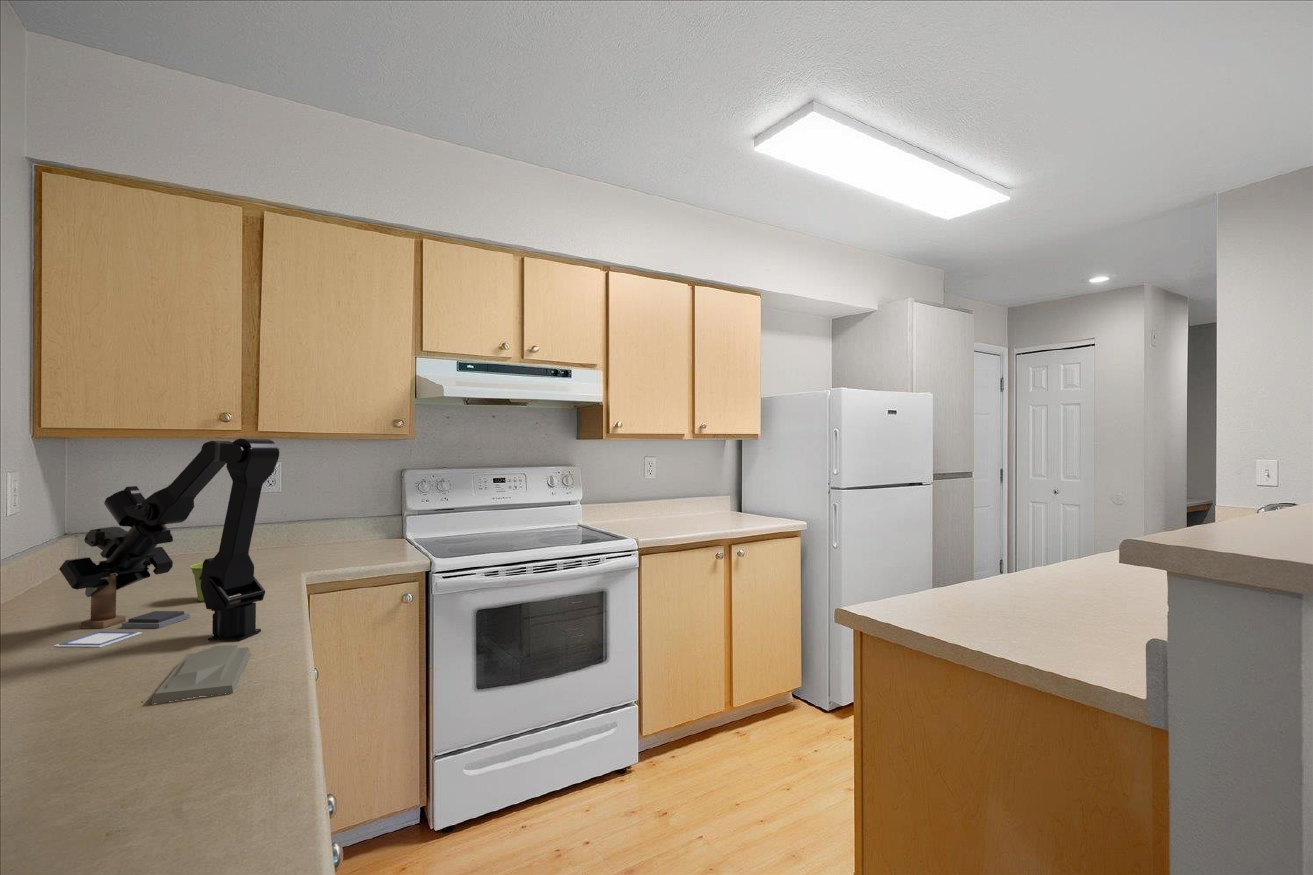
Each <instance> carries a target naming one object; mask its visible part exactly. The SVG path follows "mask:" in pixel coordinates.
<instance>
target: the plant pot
mask: <svg viewBox="0 0 1313 875" xmlns="http://www.w3.org/2000/svg"><path fill="white" fill-rule="evenodd" d="M202 566H203V562H199V563H195V564H192V565H190V566H189V569H191V572H192V574H193V577H194V582H195V588H196V593H197V600H198V601H199V602H204V598H203V594H202V591H201V580H199V578H200V576H201V573H202Z"/></svg>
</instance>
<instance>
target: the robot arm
mask: <svg viewBox="0 0 1313 875" xmlns="http://www.w3.org/2000/svg"><path fill="white" fill-rule="evenodd" d="M200 449H201V450H200V451H199V452H198V453H197V455H196V456H195V457H194V458H193V459H192V460H190V462H189V463H188V465H187V466H185V468H184V469H183V470H182V471H181V472H180V473H179V474H178V475H177V477H175V478H174V480H173V481H172V482H171V483H170V484H168V485H167V486H166V487H164V488H162V489H159V490H156V491H155V492H153V493H152V494H151V495H149V496H148V497H147V498H145V496H143V494H142V492H141V490H140V489H139V486H136V485H132V486H131V485H130V486H126V487H124V489H122V490H119V491H116V492H115V493H113V494H111V495H110V496H108V497H106V498H105V500H104V502H103V505H104V506H105V507H106V509H107V510H108V511H109V513H110V514H111V516H112V517H113V518H114V520H115V522H117V523H116V524H118V525H119V526H109V527H108V526H107V527H99V528H95V529H93V528H92V529H90V530H89V531H88V532H87V533H86V534H85V536H84V539H83V540H84V543H86V544H87V545H88V546H90V547H91V548H93V547H94V548H95V547H97V548H98V549H100V550H101V552H100V554H99V555H100V556H101V557H102V559H106V560H101V561H98V564H96V563H95V562H94V561H93V560H92V558H91V557H86V556H83V557H78V558H71V559H66V560H64V562H63V563H62V564H61V565H60V567H59V571H60V573H61V574H62V575H63V578H64V579H65V580H66V581H67V583H68V585H69V586H70V588H72V589H74V590H78V591H79V590H82V589H83V590H84V589H85V591H84V594H85V596H86V598H91V596H92V595H94V594H96V593H97V592H99V591H100V590H102V589H103V588H105V587H106V586H108V585H109V583H108V581H107V580H106V579H107V578H108V577H110V575H111V574H117V578H116V592H117V591H119V590H121V589H123V588H126V587H128V586H131V585H133V584H135V583H137V582H140V581H143V580H145V579H148V578H150V577H151V576H152V575H151V573H150V572H149V570H150V567H151V565H152V566H153V567H154V568H153V570H152V572H153V573H154V574H155V576H157V575H163V574H167V573H169V572H170V570H171V569H172V568H173V567H174V561H173V559H172V558H171V557H170V555H169V554H168V552H166V550H165V549H164V547H163V546H158V545H161V544H168V543H172V542H173V541H174V538H173V535H172V533H171V529H169V528H168V527H167V525H172V524H179V523H180V524H181V523H184V522H185V521H186V520H187V519H188V517H189V516H190V514H191V513H192V511H193V509H194V508H195V498H196V497H197V496H198V495H199V494H200V493H201V492H202V491H203V489H204V488H206V486H207V485H208V484H209V482H211V481H212V480H213V479H214V477H215V476H216V475H217V474H218V473H219V472H220V471H221V470H222V469H223V467H226V470H227V471H228V474H229V476H230V478H231V480H232V484H231V488H230V494H229V500H228V503H227V508H226V509H227V510H226V514H225V518H224V523H223V527H222V534H221V539H220V544H219V549H218V552H217V553H216V554H215V556H214V557H210V558H206V559H203V562H202V563H203V566H202V573H201V576H200V578H199V580H201V591H202V594H203V598H204V601H203V602H204V604H205V608H206V610H211V612H214V613H213V614H212V621H211V622H212V631H211V632H212V636H209V637H207V640H208V641H231V642H232V641H233V642H234V641H242V640H244V639H246V638H248V637H250V636H254V635H256V634H258V633H260V632H262V629H261V628H257V627H256V626H257V623H256V622H257V621H256V620H257V614H256V613H257V602H259V601H260V602H262V601H263V600H264V598H265V595H266V590H265V588H264V587H263V585H261V583H260V581H258V580H257V578H256V577H255V564H254V563H253V560H252V558H251V557H250V555H249V552H250V547H251V542H252V537H253V533H254V528H255V527H254V526H255V522H256V517H257V513H258V507H259V504H260V499H261V493H262V488H263V485H264V483H266V481H267V480H268V479H269V478H270V476H271V475H272V474H274V472H275V469H276V467H277V463H278V460H279V458H280V448H279V447H278V446H277V444H276V443H275V441H273V440H271V439H269V438H237V439H235V440H233V441H229V440H208V441H206V442H205V443H203V444H202V446H201V448H200ZM225 465H226V466H225ZM122 527H129V530H128V531H126V530H125V528H122Z"/></svg>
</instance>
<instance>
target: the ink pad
mask: <svg viewBox="0 0 1313 875" xmlns="http://www.w3.org/2000/svg"><path fill="white" fill-rule="evenodd" d="M190 616H191V614H190V613H185V611H183V610H153V611H151V612H147V613H143V614H140V615H138V616H134V617H132V618H131V617H129V618H128V620H127V621H125V622H123V623H121V628H122V629H124V628H125V629H129V628H130V629H160V628H164V627H167V626H169V625H173V624H175V623H178V622H181V621H184V620H187V619H190V618H191V617H190Z"/></svg>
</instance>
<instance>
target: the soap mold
mask: <svg viewBox="0 0 1313 875" xmlns="http://www.w3.org/2000/svg"><path fill="white" fill-rule="evenodd" d="M250 657H251V651H250V648H249V646H246V647H245V646H244V647H239V646H238V644H233V645H232V644H229V645H228V644H227V645H226V644H225V645H214V646H211V647H209V648H206V649H205V648H204V649H203V650H199V651H197V652H192V653H187V654H186V655H185V656H184V658H182V659H181V661H180V662H179V664H178V665H177V666H176V667H175V669H173V670H172V672H170V674H169V676H168V677H167V678H166V679H165V681H164V682H163V683H162V684H161V686H159V688H158V689H157V690H156V691H155V692H154V695H153V697H152V700H151V703H150V705H151V704H154V703H163V704H165V703H164V702H169V701H175V700H182V699H187V698H193V697H199V696H211V695H218V694H225V693H226V695H229V694H228V693H233V692H235V691H236V689H237V687H236V686H238V684H239V682H240V680H241V678H240V677H242V676H241V675H243V673H244V672H245V669H246V667H247V665H248V662H249V659H251V658H250ZM246 664H247V665H246ZM234 690H235V691H234ZM233 694H234V693H233ZM218 696H219V695H218ZM211 697H212V696H211Z"/></svg>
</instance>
